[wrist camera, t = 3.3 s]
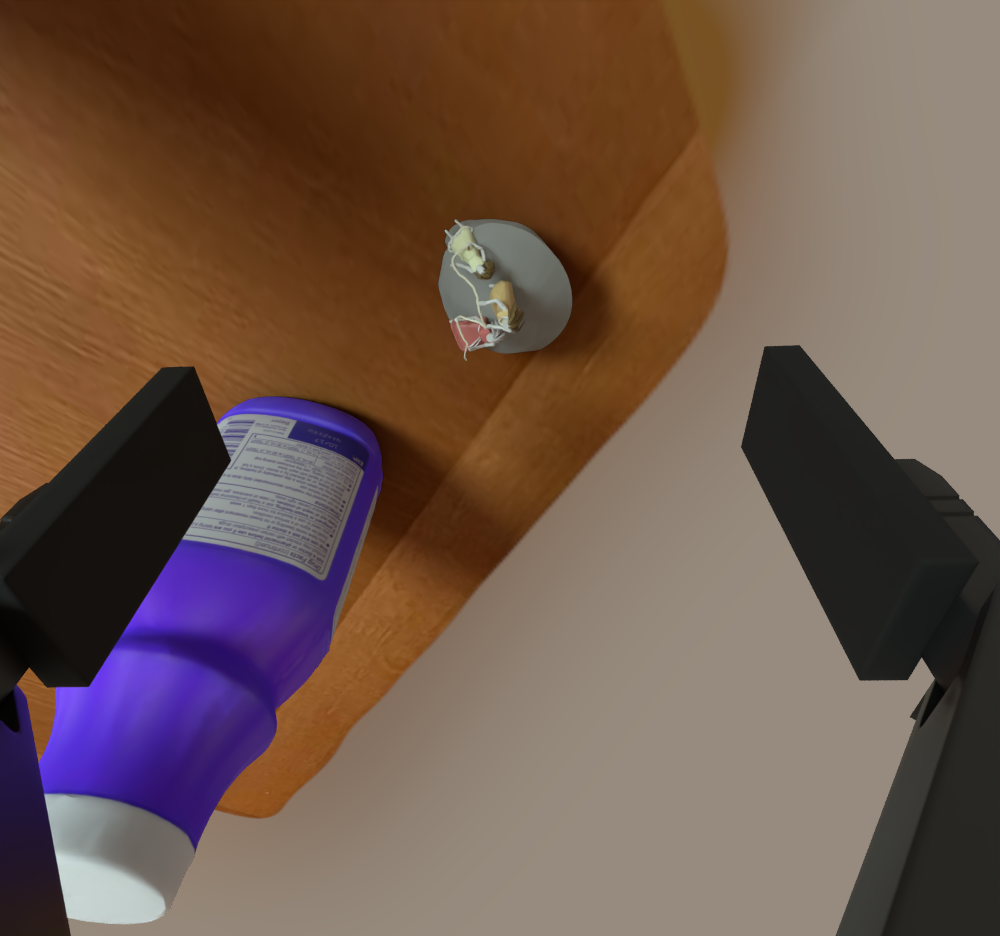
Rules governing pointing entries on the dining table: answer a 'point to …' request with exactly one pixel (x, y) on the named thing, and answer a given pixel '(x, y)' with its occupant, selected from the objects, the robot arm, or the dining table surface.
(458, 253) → the figurine
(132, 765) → the bottle
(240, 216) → the dining table surface
